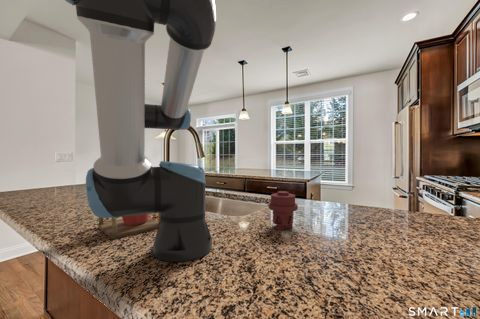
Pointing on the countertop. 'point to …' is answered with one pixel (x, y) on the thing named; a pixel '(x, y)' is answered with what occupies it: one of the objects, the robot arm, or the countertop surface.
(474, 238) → the countertop surface
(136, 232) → the pot stand
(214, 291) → the countertop surface
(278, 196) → the mechanical component
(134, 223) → the flower pot
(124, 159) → the robot arm
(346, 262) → the countertop surface
